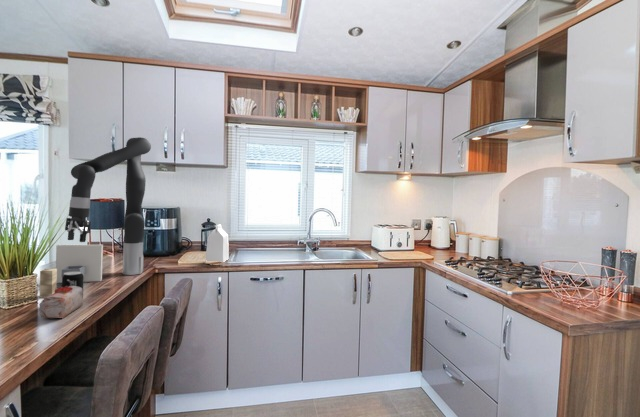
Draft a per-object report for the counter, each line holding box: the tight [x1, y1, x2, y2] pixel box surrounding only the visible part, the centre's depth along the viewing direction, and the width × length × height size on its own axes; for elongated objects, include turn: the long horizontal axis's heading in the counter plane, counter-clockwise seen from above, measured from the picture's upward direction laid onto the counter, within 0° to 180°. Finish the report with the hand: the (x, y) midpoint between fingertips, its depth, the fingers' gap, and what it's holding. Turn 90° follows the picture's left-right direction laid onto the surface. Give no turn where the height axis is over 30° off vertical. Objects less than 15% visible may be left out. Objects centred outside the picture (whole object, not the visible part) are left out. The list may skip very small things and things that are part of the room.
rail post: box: [39, 268, 58, 298], centre depth 125 cm, size 4×4×11 cm
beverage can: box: [61, 271, 84, 297], centre depth 119 cm, size 7×7×12 cm
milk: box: [205, 224, 230, 262], centre depth 199 cm, size 12×12×26 cm
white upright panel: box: [55, 244, 104, 284], centre depth 141 cm, size 18×11×18 cm, turn 111°
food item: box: [38, 286, 84, 319], centre depth 108 cm, size 14×8×10 cm, turn 13°
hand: (76, 241), depth 141 cm, fingers open, 8 cm apart
